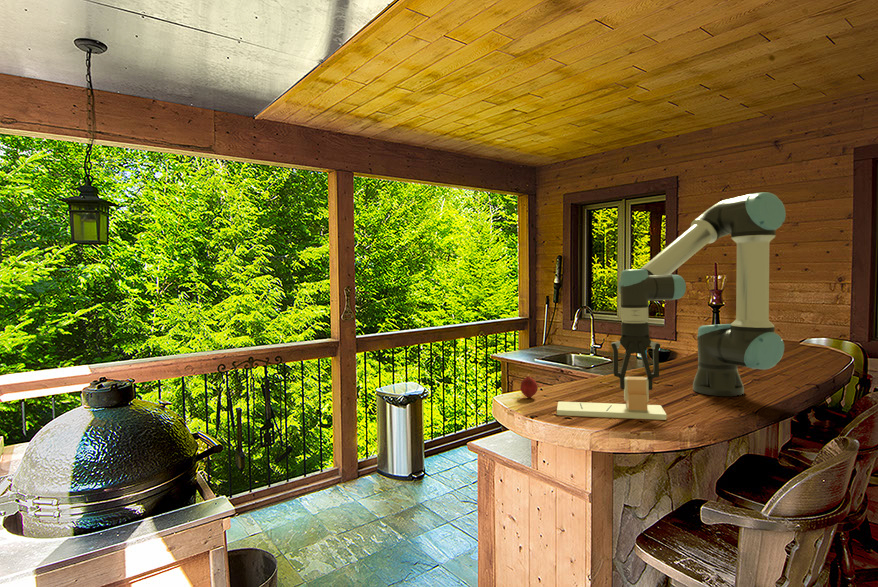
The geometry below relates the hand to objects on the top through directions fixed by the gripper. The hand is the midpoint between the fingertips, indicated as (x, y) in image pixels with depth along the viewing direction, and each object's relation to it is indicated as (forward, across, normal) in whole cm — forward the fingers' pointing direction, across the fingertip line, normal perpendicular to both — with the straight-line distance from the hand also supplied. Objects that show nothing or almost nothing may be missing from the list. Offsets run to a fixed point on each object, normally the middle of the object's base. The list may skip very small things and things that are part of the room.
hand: (636, 400), depth 143 cm
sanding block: (+2, 0, 0) cm, 2 cm away
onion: (+4, -33, +14) cm, 36 cm away
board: (+4, -8, 0) cm, 9 cm away
